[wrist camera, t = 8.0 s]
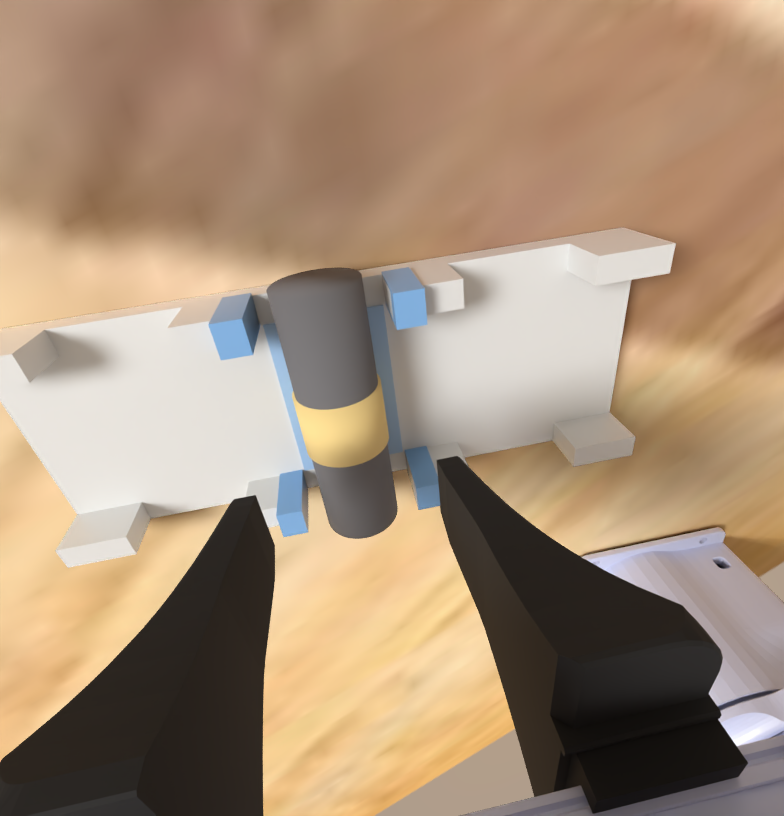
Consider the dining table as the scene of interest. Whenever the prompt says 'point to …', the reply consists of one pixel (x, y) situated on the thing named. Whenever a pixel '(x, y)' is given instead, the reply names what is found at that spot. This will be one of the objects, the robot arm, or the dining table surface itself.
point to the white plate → (272, 390)
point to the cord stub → (337, 395)
